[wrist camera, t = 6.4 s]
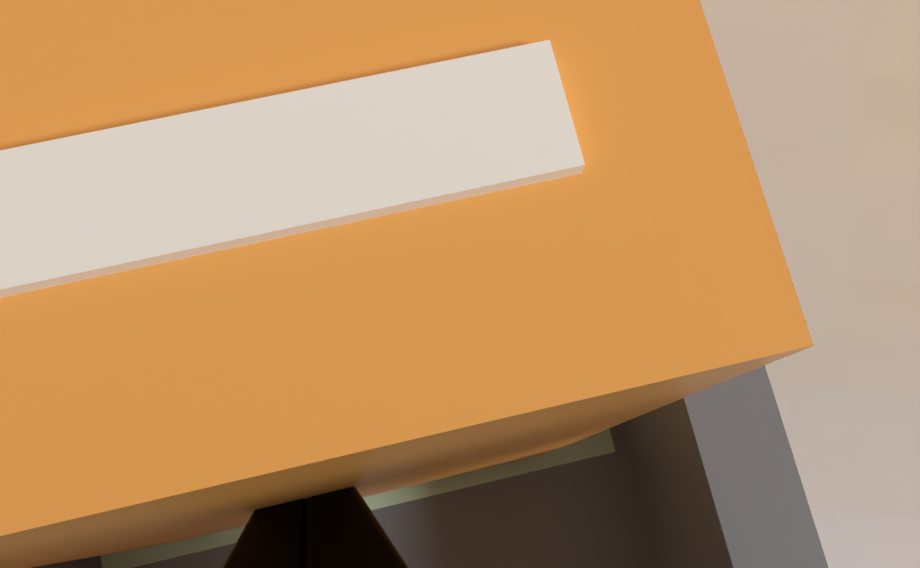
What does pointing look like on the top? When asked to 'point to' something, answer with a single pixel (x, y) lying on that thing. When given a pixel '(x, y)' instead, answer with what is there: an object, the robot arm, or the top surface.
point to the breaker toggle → (354, 249)
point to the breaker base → (597, 500)
